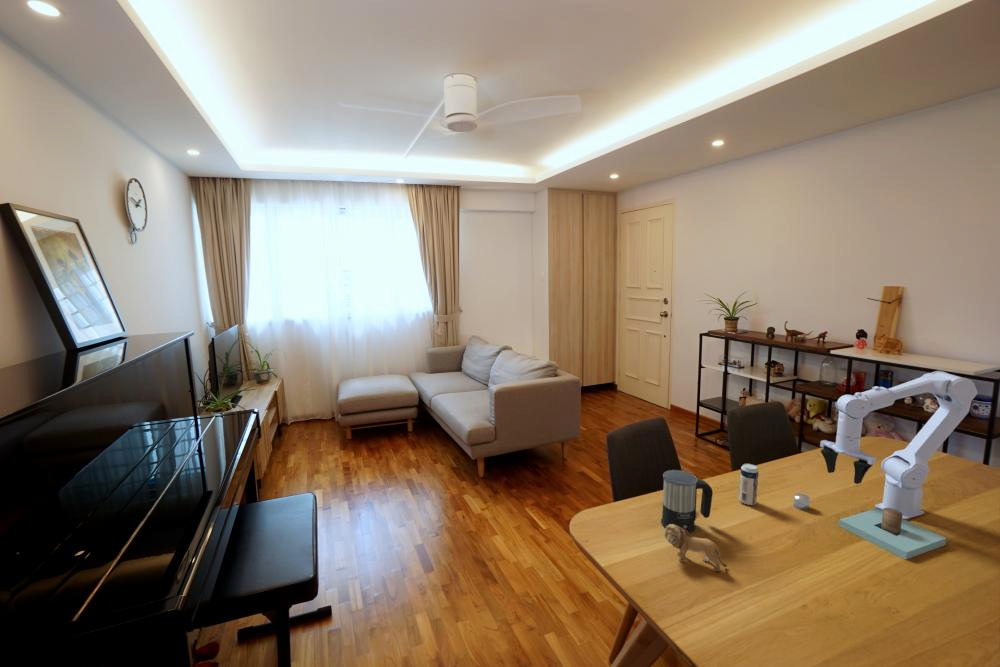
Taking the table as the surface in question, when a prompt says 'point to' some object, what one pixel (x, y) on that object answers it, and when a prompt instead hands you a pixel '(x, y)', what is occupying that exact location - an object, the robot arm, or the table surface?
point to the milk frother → (684, 499)
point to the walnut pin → (891, 521)
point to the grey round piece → (801, 501)
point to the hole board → (903, 545)
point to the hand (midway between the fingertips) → (844, 477)
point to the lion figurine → (692, 544)
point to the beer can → (748, 484)
